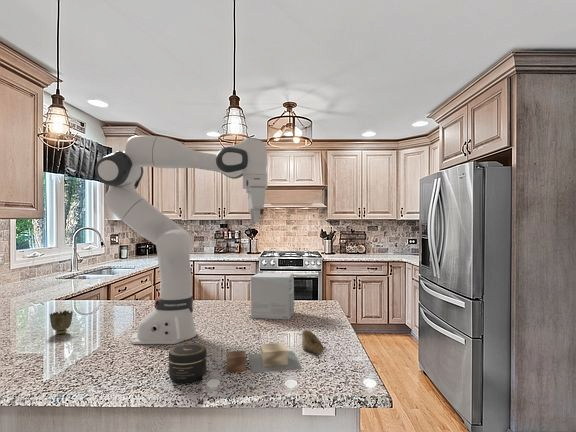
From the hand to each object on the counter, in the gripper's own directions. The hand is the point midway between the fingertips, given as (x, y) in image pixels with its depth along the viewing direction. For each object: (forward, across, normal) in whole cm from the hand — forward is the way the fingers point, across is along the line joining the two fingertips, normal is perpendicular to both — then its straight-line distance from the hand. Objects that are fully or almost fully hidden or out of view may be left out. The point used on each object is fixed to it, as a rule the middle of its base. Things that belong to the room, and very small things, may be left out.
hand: (255, 222), depth 133 cm
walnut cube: (+42, +28, -8) cm, 51 cm away
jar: (+42, +29, -21) cm, 55 cm away
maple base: (+40, +25, +3) cm, 48 cm away
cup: (+42, -22, -71) cm, 85 cm away
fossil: (+42, +19, +16) cm, 48 cm away
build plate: (+41, +25, +3) cm, 49 cm away
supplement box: (+42, -30, +11) cm, 53 cm away
